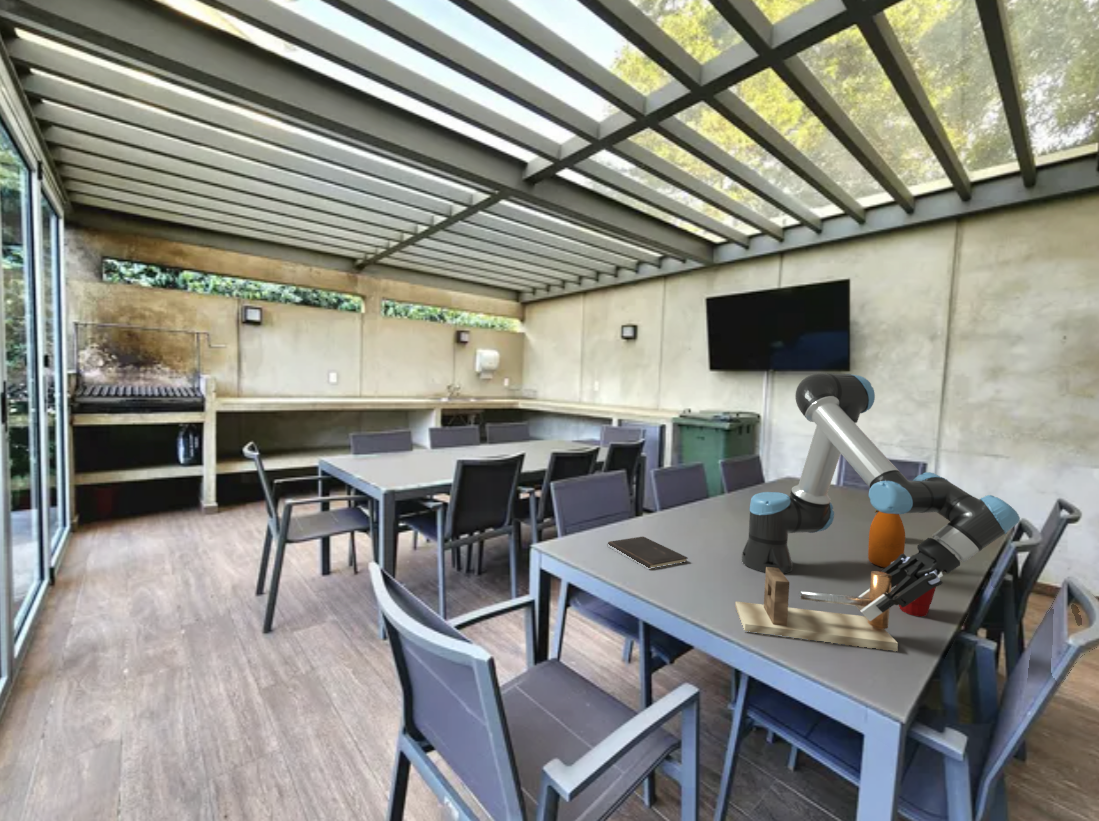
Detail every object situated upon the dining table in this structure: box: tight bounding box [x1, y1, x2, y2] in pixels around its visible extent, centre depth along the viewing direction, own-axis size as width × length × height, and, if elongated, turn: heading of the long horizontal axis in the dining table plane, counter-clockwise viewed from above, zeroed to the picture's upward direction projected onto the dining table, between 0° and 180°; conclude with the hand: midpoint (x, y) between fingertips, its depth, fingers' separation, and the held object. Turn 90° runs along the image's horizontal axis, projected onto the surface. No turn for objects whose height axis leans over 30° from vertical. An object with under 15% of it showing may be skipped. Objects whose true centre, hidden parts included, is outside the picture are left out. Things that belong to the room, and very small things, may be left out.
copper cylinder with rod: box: [798, 570, 892, 630], centre depth 111 cm, size 19×4×12 cm, turn 79°
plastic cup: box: [892, 562, 944, 617], centre depth 124 cm, size 11×11×12 cm
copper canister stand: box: [734, 567, 899, 652], centre depth 113 cm, size 32×12×12 cm, turn 79°
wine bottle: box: [867, 509, 906, 569], centre depth 157 cm, size 10×10×30 cm
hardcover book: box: [607, 536, 689, 568], centre depth 161 cm, size 16×23×2 cm
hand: (860, 611), depth 111 cm, fingers closed on copper cylinder with rod, 4 cm apart
